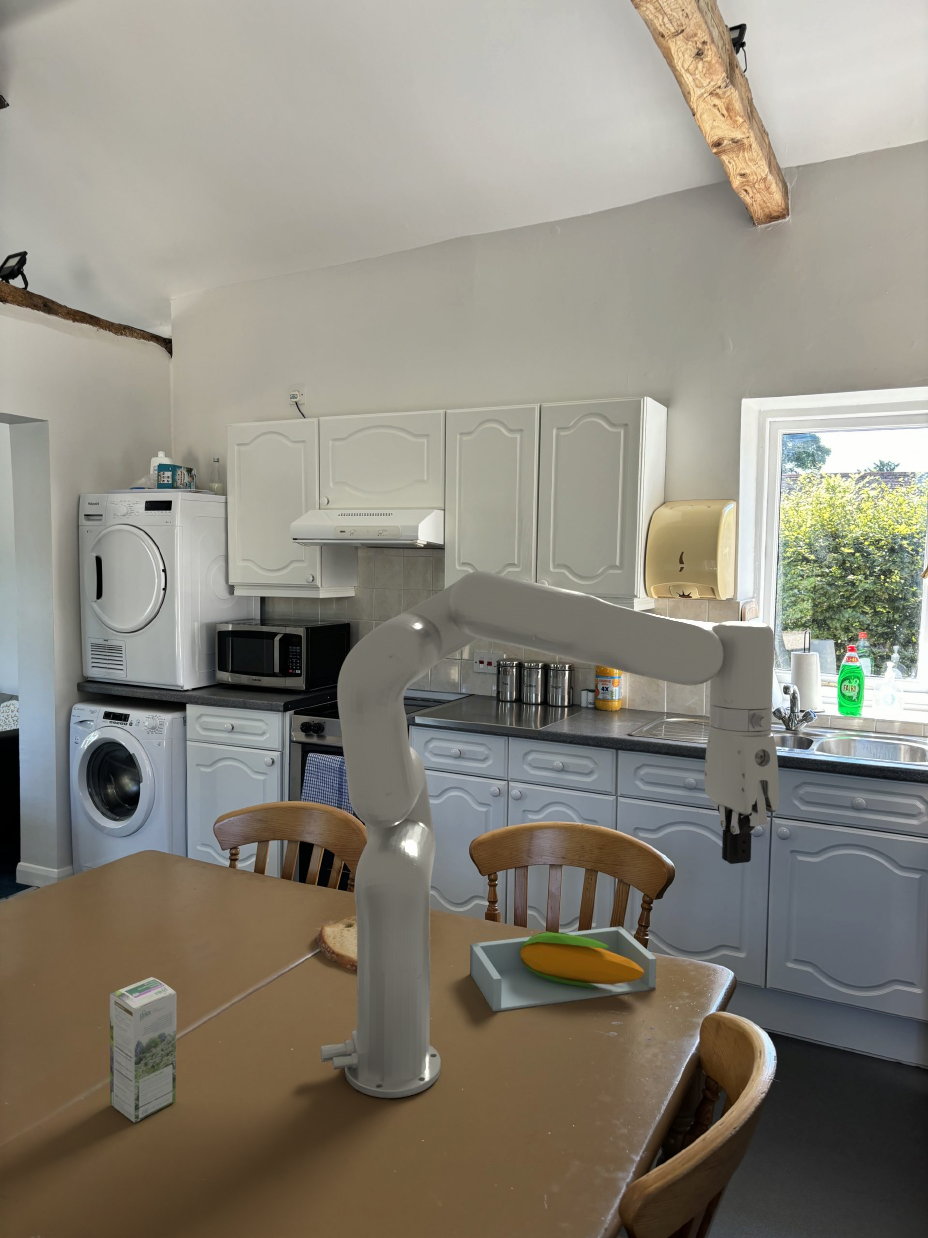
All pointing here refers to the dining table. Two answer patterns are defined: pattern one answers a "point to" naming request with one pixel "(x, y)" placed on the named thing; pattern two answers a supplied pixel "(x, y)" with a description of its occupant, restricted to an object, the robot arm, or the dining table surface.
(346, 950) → the slice of bread
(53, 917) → the dining table surface
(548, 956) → the corn
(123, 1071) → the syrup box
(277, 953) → the dining table surface
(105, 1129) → the dining table surface
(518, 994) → the tray
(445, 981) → the dining table surface
